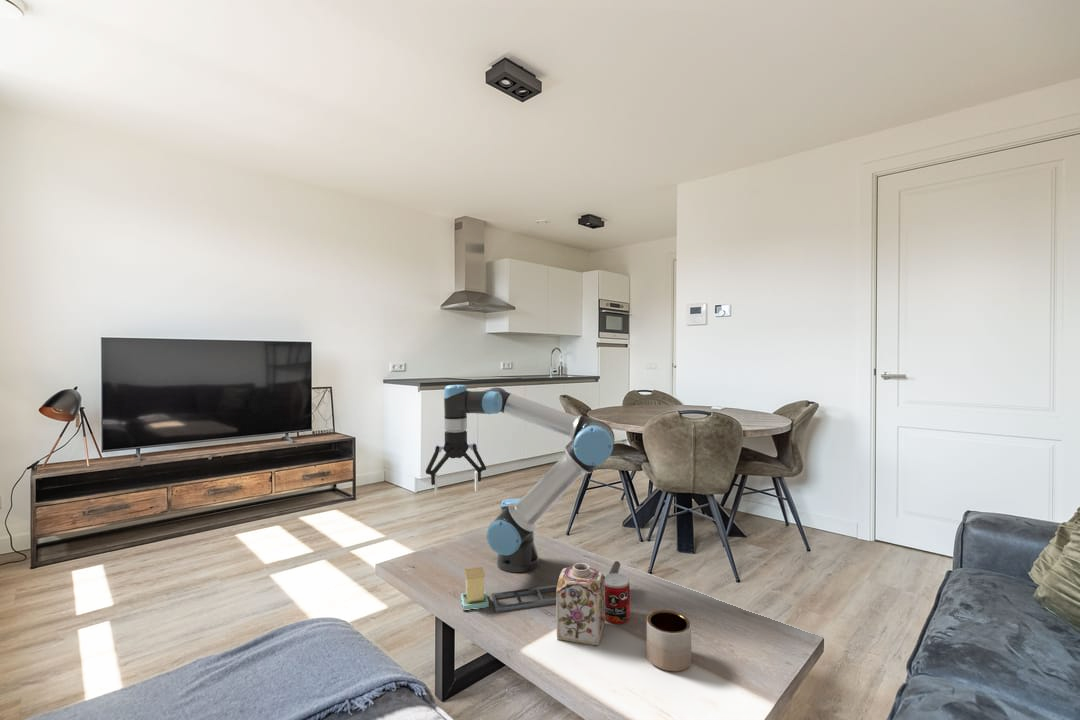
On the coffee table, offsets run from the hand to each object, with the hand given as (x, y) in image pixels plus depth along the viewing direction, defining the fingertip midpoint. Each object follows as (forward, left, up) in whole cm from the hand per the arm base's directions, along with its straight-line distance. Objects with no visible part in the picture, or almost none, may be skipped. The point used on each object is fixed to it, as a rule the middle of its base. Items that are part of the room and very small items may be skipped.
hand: (456, 492), depth 165 cm
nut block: (-4, +20, -28) cm, 34 cm away
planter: (-47, +59, -29) cm, 81 cm away
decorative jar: (-30, +42, -29) cm, 59 cm away
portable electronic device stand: (-46, +24, -29) cm, 59 cm away
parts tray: (-3, +20, -29) cm, 35 cm away
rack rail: (-20, +22, -29) cm, 41 cm away
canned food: (-42, +38, -29) cm, 64 cm away
